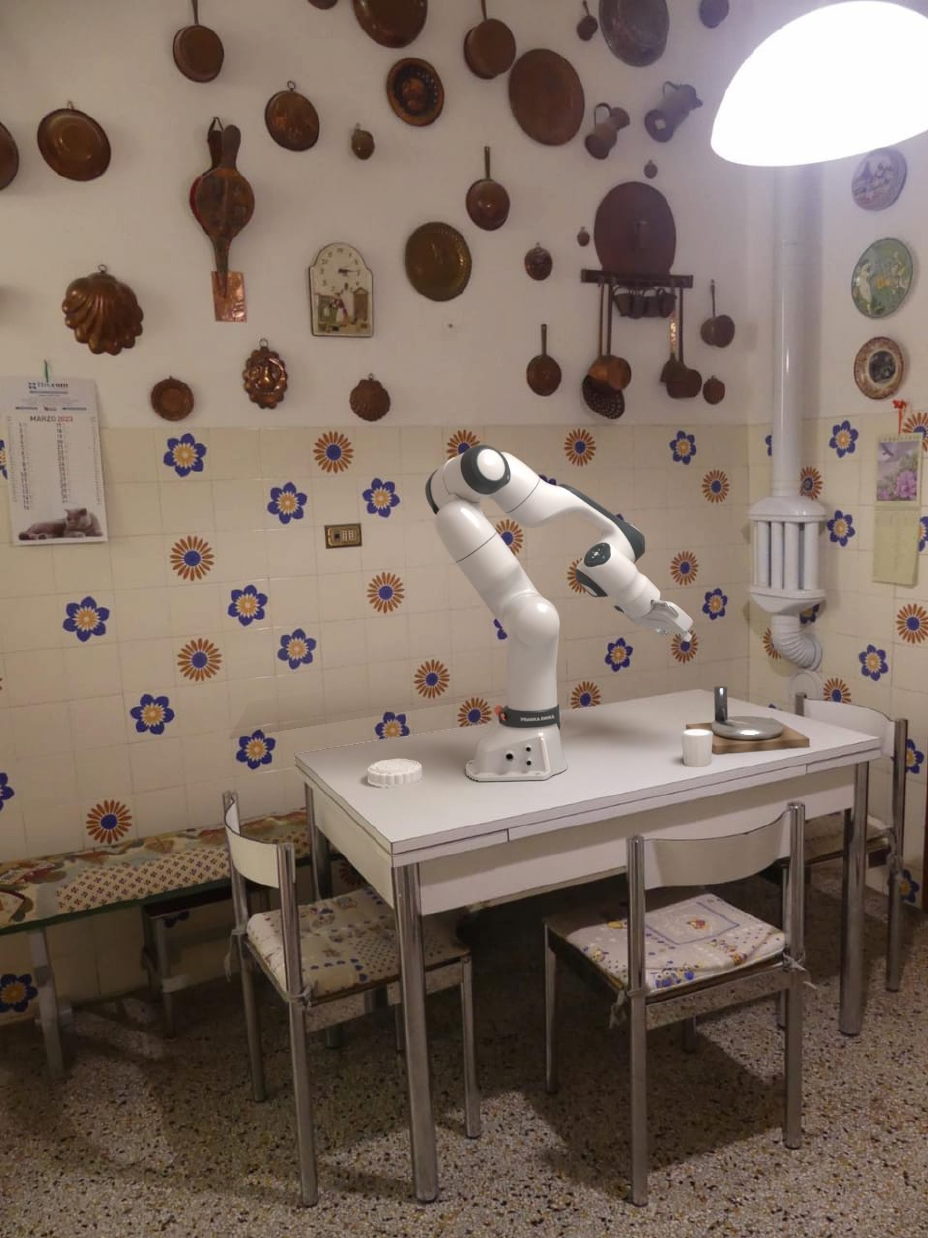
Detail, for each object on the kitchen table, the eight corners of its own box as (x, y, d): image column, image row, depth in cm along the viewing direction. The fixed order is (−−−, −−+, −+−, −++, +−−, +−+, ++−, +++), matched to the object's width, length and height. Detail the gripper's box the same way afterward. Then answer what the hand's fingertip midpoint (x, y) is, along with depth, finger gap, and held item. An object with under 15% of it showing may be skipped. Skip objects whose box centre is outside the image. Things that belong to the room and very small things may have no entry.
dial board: (715, 754, 213) (715, 744, 212) (685, 732, 232) (685, 723, 232) (809, 747, 215) (809, 737, 214) (772, 725, 234) (772, 716, 234)
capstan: (796, 729, 221) (796, 689, 220) (758, 743, 211) (757, 702, 210) (734, 718, 234) (734, 680, 233) (696, 731, 224) (695, 692, 222)
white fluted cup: (714, 768, 203) (714, 736, 202) (681, 767, 205) (681, 736, 204) (712, 758, 210) (712, 728, 209) (681, 758, 211) (680, 728, 210)
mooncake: (383, 770, 215) (382, 755, 214) (431, 774, 210) (430, 758, 209) (357, 787, 204) (356, 770, 203) (407, 791, 199) (406, 774, 199)
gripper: (675, 592, 206) (713, 631, 211) (623, 585, 224) (659, 621, 229) (659, 614, 204) (697, 653, 210) (608, 605, 223) (644, 641, 228)
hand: (676, 636), depth 220 cm, fingers open, 7 cm apart
